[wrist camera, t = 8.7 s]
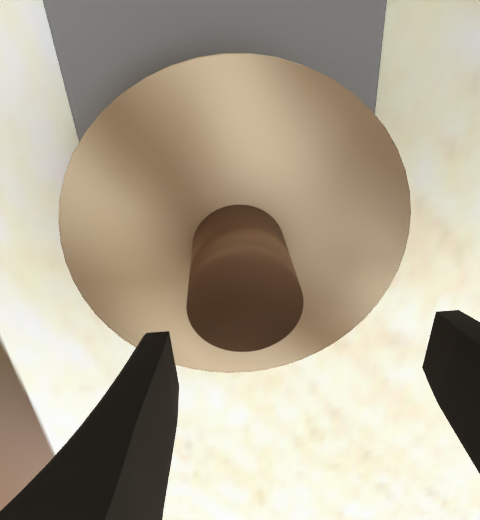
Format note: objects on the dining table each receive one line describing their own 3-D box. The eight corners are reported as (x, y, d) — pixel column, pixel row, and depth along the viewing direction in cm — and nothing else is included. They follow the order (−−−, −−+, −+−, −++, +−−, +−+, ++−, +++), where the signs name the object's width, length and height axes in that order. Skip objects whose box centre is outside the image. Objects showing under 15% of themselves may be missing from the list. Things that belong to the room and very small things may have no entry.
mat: (-82, -507, 10) (-92, -526, 10) (436, -527, 10) (444, -547, 10) (123, 306, 22) (122, 310, 22) (353, 287, 23) (355, 291, 22)
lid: (215, -55, 10) (216, -101, 7) (466, 218, 15) (551, 281, 11) (4, 256, 14) (-69, 335, 11) (249, 397, 19) (258, 487, 15)
